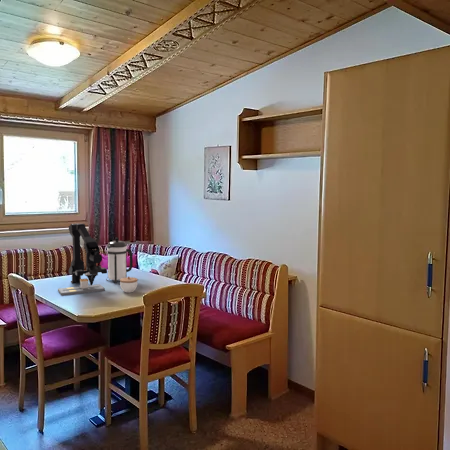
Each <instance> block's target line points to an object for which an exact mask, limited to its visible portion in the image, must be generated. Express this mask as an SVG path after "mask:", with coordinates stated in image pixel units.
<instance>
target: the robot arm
mask: <svg viewBox="0 0 450 450" xmlns="http://www.w3.org/2000/svg"><path fill="white" fill-rule="evenodd" d="M68 231H69V234H70V236H71V239H72V257H73V259H72V260H71V262H70V266H69V269H68V274H69V275H71V280H70V283H71V284H73V285H74V284H80V279H82V276H83V275H84V276H86V278H87V279H88V283H89V285H94V282H95V279H96V277H97V276H99V273H101V274H102V275H103V274H108V268H106V267H102V266H101V265H97V264H100V263H101V262H102V261H103V256H102V255H101V254H100V250H101V249H100V246H99V244H98V242H97V241H96V239H95V238H93V237H91V235H90V232H89V231H88V229H87V227H86V223H70V224H69V226H68ZM81 239H82V240H83V248H84V251H85V254H86V255H85V259H86V261H85V262H84V260H82V255H81ZM85 264H86V265H85ZM85 266H86V268H85ZM85 269H86V270H85Z"/></svg>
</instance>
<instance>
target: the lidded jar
mask: <svg viewBox="0 0 450 450" xmlns="http://www.w3.org/2000/svg"><path fill="white" fill-rule="evenodd" d="M138 280H139V279H138V278H137V277H131V276H127V278H122V279H120V280H119V284H120V288H121V290H122V291H123V292H124V293H133V292H134V291H135V290H137V287H138Z"/></svg>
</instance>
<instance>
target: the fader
mask: <svg viewBox="0 0 450 450" xmlns="http://www.w3.org/2000/svg"><path fill="white" fill-rule="evenodd" d="M88 285H89V279H88V277H86V278H81V279H80V283H79V286H80V288H81V289H84V288H88Z"/></svg>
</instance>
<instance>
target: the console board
mask: <svg viewBox="0 0 450 450" xmlns="http://www.w3.org/2000/svg"><path fill="white" fill-rule="evenodd" d="M104 291H106V290H105V287H104V286H102V284H100V283H99V284H92V285H91V284H88V288H84V289H81V288H80V285H77V286H72V287H71V286H70V287H60V288H57V292H58V293H59V295H60V296H68V295H69V296H70V295H77V294H78V295H80V294H88V293H89V294H90V293H97V292H104Z"/></svg>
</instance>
